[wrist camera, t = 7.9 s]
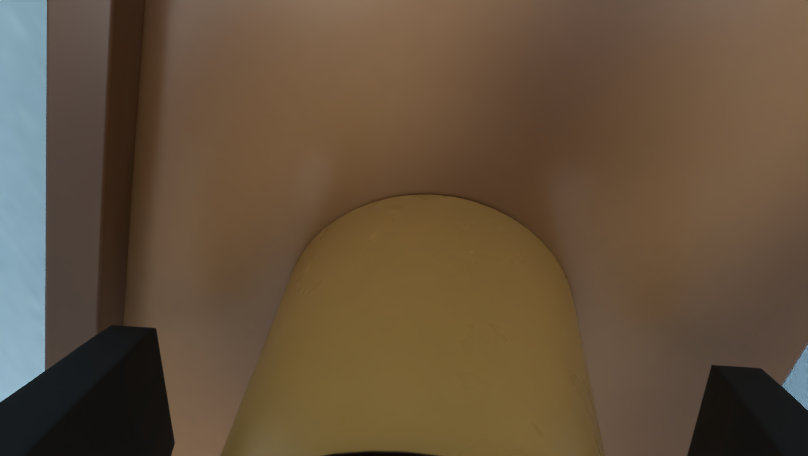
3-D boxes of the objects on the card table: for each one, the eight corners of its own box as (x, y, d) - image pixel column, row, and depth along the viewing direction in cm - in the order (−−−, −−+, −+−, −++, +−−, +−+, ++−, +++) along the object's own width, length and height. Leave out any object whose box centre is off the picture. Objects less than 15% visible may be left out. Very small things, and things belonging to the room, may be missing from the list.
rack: (876, -131, 13) (1159, -87, 8) (574, 487, 20) (610, 729, 15) (228, -307, 12) (46, -393, 7) (158, 390, 20) (42, 604, 14)
